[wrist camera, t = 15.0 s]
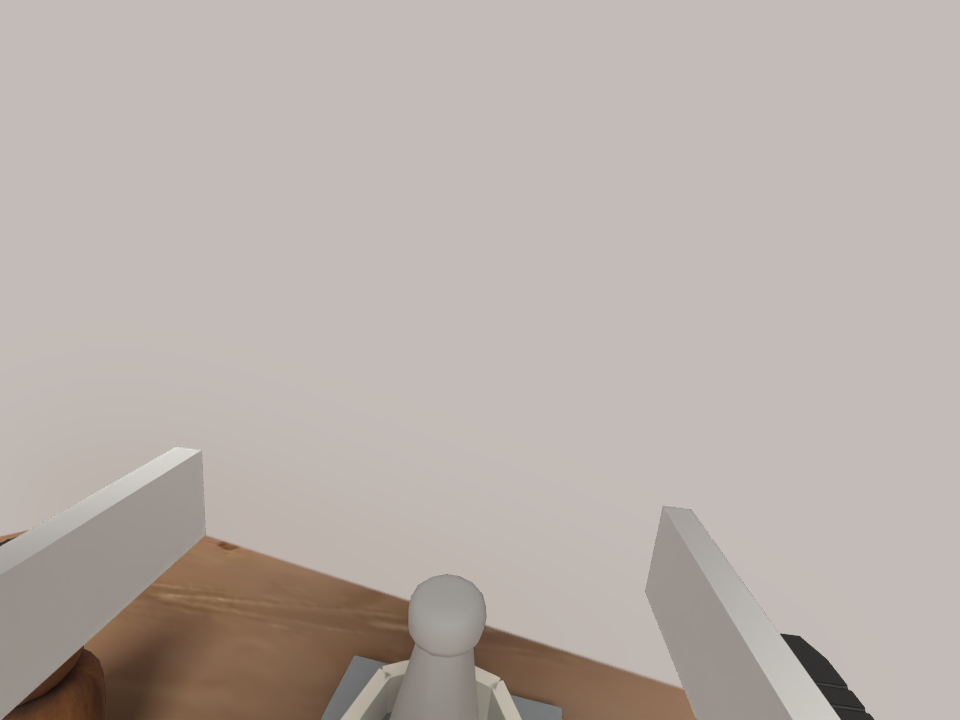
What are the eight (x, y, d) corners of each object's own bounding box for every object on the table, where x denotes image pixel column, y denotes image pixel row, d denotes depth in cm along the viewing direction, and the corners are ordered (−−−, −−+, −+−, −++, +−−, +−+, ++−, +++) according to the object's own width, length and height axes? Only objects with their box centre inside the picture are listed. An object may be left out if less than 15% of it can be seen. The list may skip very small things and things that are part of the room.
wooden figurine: (-3, 750, 27) (-38, 530, 24) (117, 711, 30) (101, 511, 27) (-60, 886, 22) (-115, 623, 18) (95, 823, 25) (71, 586, 21)
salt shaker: (365, 755, 28) (378, 575, 25) (444, 710, 32) (464, 547, 29) (406, 858, 24) (428, 653, 21) (494, 794, 27) (523, 609, 24)
